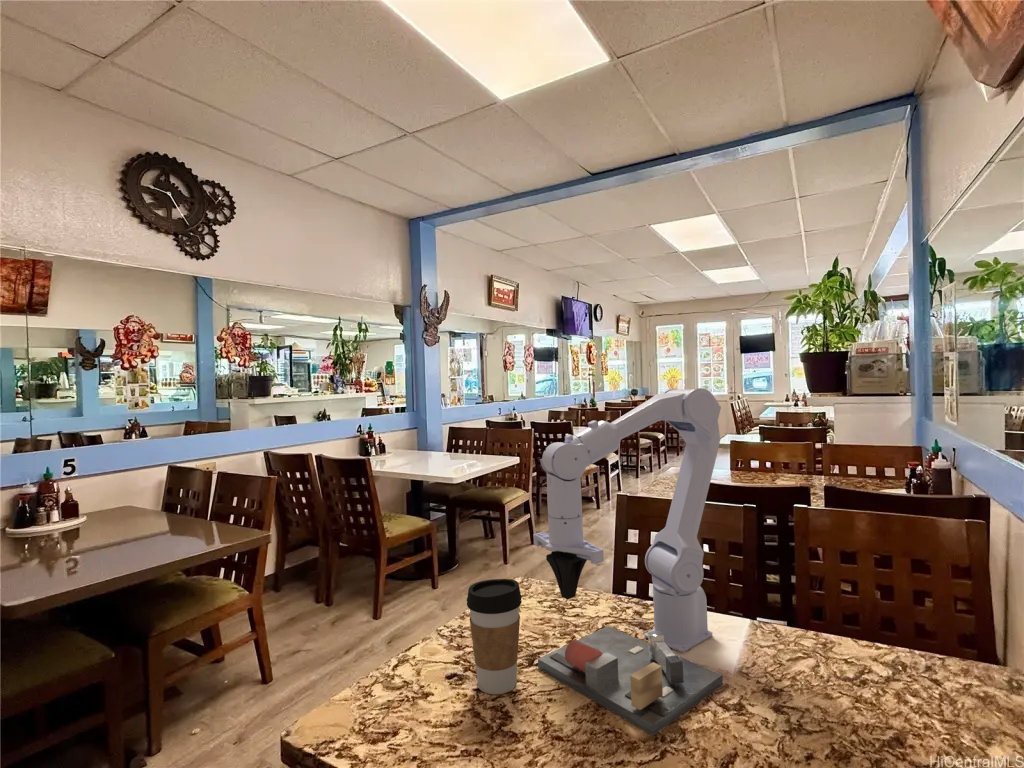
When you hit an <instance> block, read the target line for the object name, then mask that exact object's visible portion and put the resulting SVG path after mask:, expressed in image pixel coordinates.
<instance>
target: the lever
mask: <svg viewBox="0 0 1024 768" xmlns="http://www.w3.org/2000/svg"><path fill="white" fill-rule="evenodd" d="M648 632H649V631H648ZM647 639H648V641H647V643H649V658H650V659H652V660H655V661H657V663H658V664H659V665H660V666H662V669H663V671H664V672H665V673H666V677H667V679H668V680H669V681H670V683H671V684H676V683H684V682H683V661H682V660H681V659H680V658H679V657H678V656H679V655H678V654H675V653H674V652H673V650H672V648H670V647H668V646H667V645H666V643H665V642H664V634H663V633H662V632H659V631H651V632H649V633H648V638H647Z"/></svg>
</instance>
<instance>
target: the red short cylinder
mask: <svg viewBox="0 0 1024 768" xmlns="http://www.w3.org/2000/svg"><path fill="white" fill-rule="evenodd" d="M578 640H579V639H572V640H571V641H569V643H568V644H567V645H568V646H567V648H566V651H565V660H566V662H567V663H568V664H570V665H572V666H574V667H576V668H577V669H579V670H581V671H583V672H585V663H586V662H588V661H590V660H592V659H594V658H596V657H598V656H600V655H602V652H601V651H599V650H597V649H595V648H593V647H591V646H589V645H586V644H584V643H582V642H580V641H578ZM585 673H586V672H585Z"/></svg>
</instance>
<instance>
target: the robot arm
mask: <svg viewBox="0 0 1024 768" xmlns="http://www.w3.org/2000/svg"><path fill="white" fill-rule="evenodd" d="M721 409H722V406H721V405H720V403H719V402H718V400H717V399H716V397H715V396H714V395H713V393H712V392H711V391H710V390H708V389H707V388H702V387H701V388H694V389H693V388H692V389H691V388H690V389H689V388H687V389H686V388H685V389H681V388H680V389H679V388H670V389H666V390H664V391H663V392H660V393H657V394H655V395H653V396H652V397H650V398H649V399H648V400H646V401H644V402H643V403H641V404H639V405H638V406H636V407H634V408H633V409H631V410H630V411H628V412H626V413H625V414H623V415H622V416H619V417H618V418H616V419H615V420H613V421H611V422H608V421H605V420H599V421H598V420H590V421H589V422H587V426H588V427H586V428H584V429H582V430H579V431H578V432H576V433H574V434H573V435H572V434H567V435H565V436H564V441H563V442H561V441H560V442H558V441H557V442H552V443H550V444H548V446H547V447H545V450H544V451H543V452H542V458H540V460H539V462H540V466H541V467H542V469H543V471H544V472H545V474H546V486H547V487H546V495H547V496H546V497H547V498H546V499H547V519H548V520H547V521H548V533H546V532H543V531H539V532H537V533H533V537H532V538H533V546H536V547H540V546H542V547H544V548H545V550H546V551H550V553H548V554H547V555H545V558H546V561H547V563H548V564H549V566H550V567H551V569H552V572H553V575H554V576H555V580H556V583H557V585H558V588H559V593H560V597H561V598H563V599H565V600H569V599H571V598H574V597H576V595H577V590H578V585H579V580H580V577H581V574H582V571H583V569H584V567H585V565H586V562H587V561H590V563H591V564H594V565H597V564H600V563H603V562H604V561H605V556H604V548H601V547H597V546H595V545H594V544H592V543H590V542H589V541H587V540H585V539H584V521H583V501H582V500H583V499H582V498H583V497H582V483H581V482H582V481H581V476H582V475H583V474H584V473H585V471H586V469H587V467H589V466H591V465H593V464H594V463H596V462H598V461H600V460H602V459H603V458H605V457H607V456H609V455H610V454H613V453H614V452H616V451H618V449H619V447H620V445H621V440H622V439H623V440H624V439H625V438H627V437H629V436H631V435H633V434H635V433H637V432H639V431H641V430H643V429H645V428H648V427H650V426H651V425H653V424H655V423H657V422H660V421H665V422H666V423H668V424H669V425H670V426H671V427H673V428H674V429H675V430H676V431H677V432H678V433H679V435H680V436H681V437H682V440H683V441H684V442H685V446H684V451H683V457H682V459H681V463H680V467H679V468H680V469H679V472H678V476H677V479H676V482H675V487H674V491H673V494H672V495H673V496H672V500H671V502H670V503H671V504H670V508H669V512H668V515H667V519H666V524H665V527H664V528H663V529H661V530H660V531H659V532H657V533H656V534H655V535H654V539H653V541H652V544H651V546H649V548H647V551H646V553H645V557H644V565H645V568H646V570H647V572H648V573H649V574H651V581H652V598H653V602H652V603H653V625H654V628H653V629H651V630H650V629H649V631H647V632H645V633H643V635H644V637H645V638H646V639H648V633H649V632H651V631H659V632H662V633H663V634H664V642H665V643H666V645H667V646H668V647H669V648H670V649H671V650H672V649H673V650H675V651H678V652H680V653H685V652H687V651H688V650H689V649H691V648H693V647H695V646H697V645H698V644H700V643H702V642H704V641H705V640H707V639H708V638H711V636H713V632H712V631H711V630H709V628H708V627H709V626H708V610H707V609H708V606H707V602H708V601H707V595H706V593H705V591H704V589H703V587H702V586H701V584H702V583H703V580H704V579H703V578H704V574H705V573H704V568H703V567H704V566H703V560H704V555H705V552H704V550H703V548H702V546H701V545H700V542H699V540H698V534H699V529H700V525H701V522H702V517H703V513H704V509H705V505H706V501H707V496H708V493H709V489H710V484H711V481H712V476H713V472H714V468H715V463H716V460H717V455H718V452H719V448H720V443H721V436H720V435H721V434H720V427H719V417H720V413H721Z"/></svg>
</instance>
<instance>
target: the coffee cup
mask: <svg viewBox="0 0 1024 768" xmlns="http://www.w3.org/2000/svg"><path fill="white" fill-rule="evenodd" d="M467 589H468V590H467V596H466V607H467V608H468V610H469V613H470V616H469V623H470V624H469V625H470V632H471V641H472V647H473V648H472V649H473V656H474V663H475V671H476V680H477V686H478V689H479V690H480V691H481V692H482V693H485V694H489V695H502V694H506V693H509V692H511V691H513V690H514V688H515V687H516V685H517V681H518V679H517V677H518V676H517V675H518V674H517V673H518V658H519V657H518V656H519V639H520V621H521V616H520V606H521V605H522V602H523V600H522V598H523V597H522V594H521V589H520V584H519V582H518V581H517V580H515V579H512V578H494V579H487V580H480V581H478V582H477V581H476V582H475V583H472V584H471V585H470V586H469V587H468V588H467Z"/></svg>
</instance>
